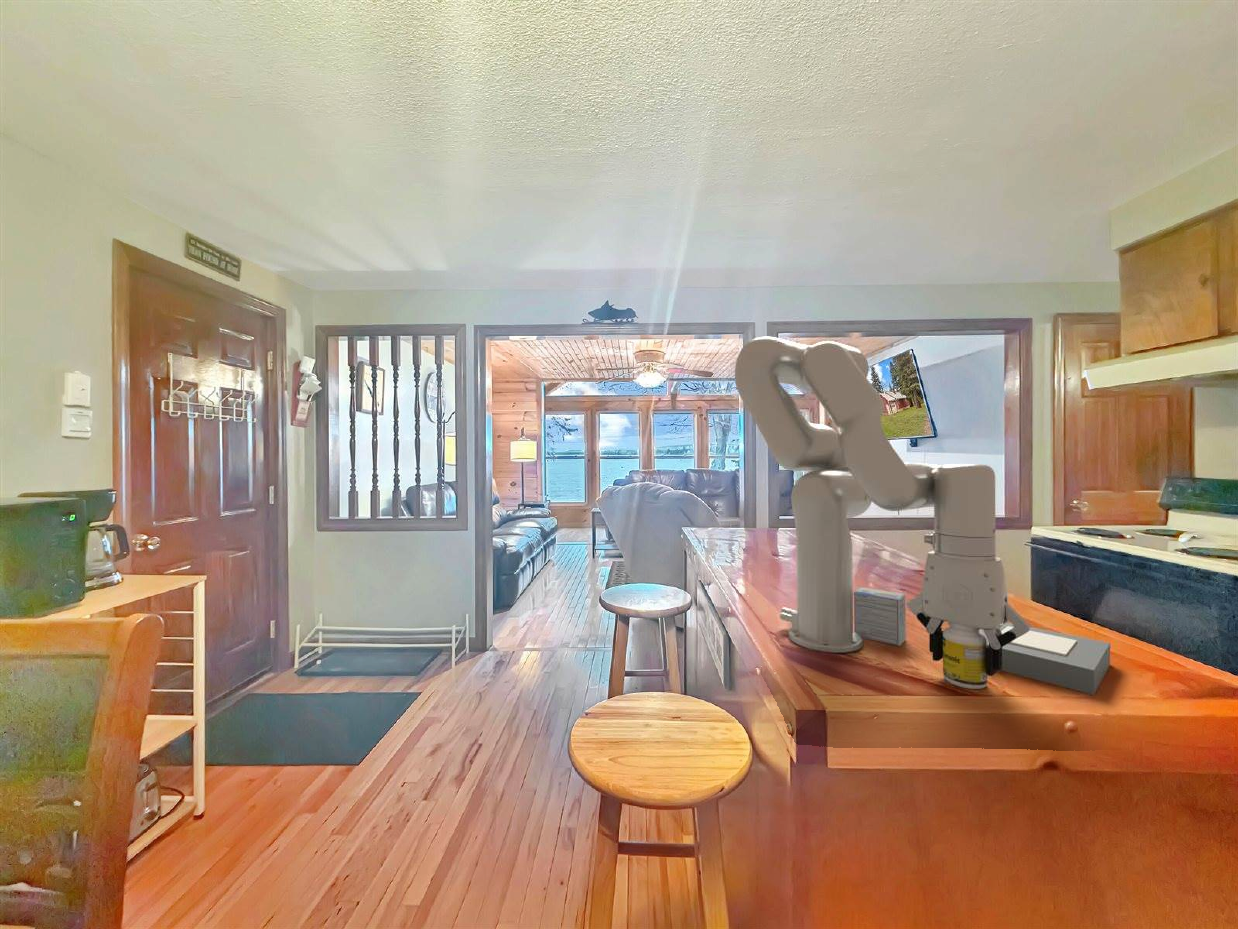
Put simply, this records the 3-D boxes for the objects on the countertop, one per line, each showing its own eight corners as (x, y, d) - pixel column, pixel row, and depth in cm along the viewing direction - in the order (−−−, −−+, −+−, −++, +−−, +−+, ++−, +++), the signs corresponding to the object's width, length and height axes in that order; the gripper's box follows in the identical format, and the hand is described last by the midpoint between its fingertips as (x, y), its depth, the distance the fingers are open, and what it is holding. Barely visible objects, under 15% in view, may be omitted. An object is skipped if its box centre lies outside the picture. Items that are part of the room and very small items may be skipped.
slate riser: (961, 659, 81) (961, 637, 81) (989, 637, 92) (989, 617, 91) (1094, 695, 69) (1094, 668, 69) (1110, 664, 79) (1110, 641, 79)
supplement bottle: (935, 673, 76) (935, 610, 76) (973, 675, 76) (973, 612, 76) (954, 689, 71) (954, 622, 71) (995, 691, 70) (995, 623, 70)
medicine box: (906, 640, 90) (906, 593, 90) (900, 647, 87) (900, 598, 87) (860, 630, 96) (860, 586, 96) (853, 636, 93) (853, 591, 93)
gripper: (892, 541, 78) (892, 654, 78) (1032, 558, 64) (1032, 694, 64) (911, 537, 82) (911, 643, 82) (1044, 551, 69) (1045, 678, 69)
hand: (964, 664), depth 73 cm, fingers open, 6 cm apart
